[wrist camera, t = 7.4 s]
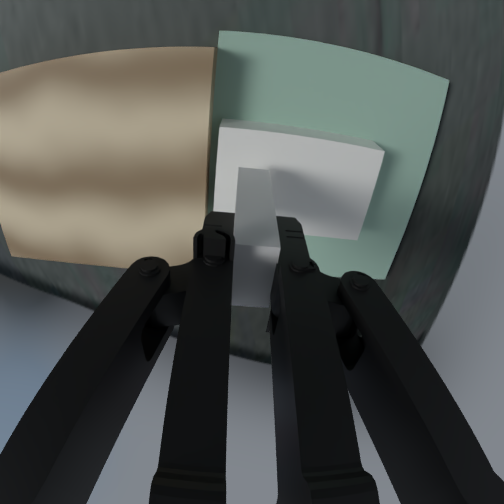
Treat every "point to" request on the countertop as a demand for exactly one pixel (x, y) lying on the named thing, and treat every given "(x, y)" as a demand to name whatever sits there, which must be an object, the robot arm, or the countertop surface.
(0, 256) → the countertop surface
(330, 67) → the mat
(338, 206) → the white rectangular block
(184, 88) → the wooden board
